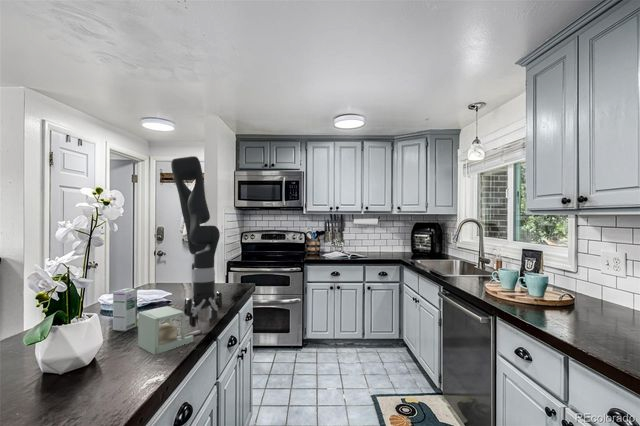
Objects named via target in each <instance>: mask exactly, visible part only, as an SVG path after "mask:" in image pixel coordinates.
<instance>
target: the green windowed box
mask: <svg viewBox="0 0 640 426" xmlns="http://www.w3.org/2000/svg"><path fill="white" fill-rule="evenodd" d="M177 317H180V336H181V339H178V340H175V341H171V342H168V343H165V344H162V345H159V325H160V322H163V321H165V323H170V324H171V319H173V318H177ZM137 326H138V327H137V328H138V329H137V330H138V331H137V335H138V337H137V347H139V348H141V349H143V350H145V351H146V352H149V353H151V354H152V355H154V356H155V355H159V354H161V353H165V352H167V351H171V350H173V349H177V348H178V347H179V346H180V347H183V346H185V345H189V344H191V343H193V342H194V336H195V335H190V336H187V337H185V334H186V315H185V314H184V310H180V309H177V308H174V307H171V306H169V305H166V306H162V307H157V308H153V309H147V310H143V311H139V312H138V319H137ZM177 336H179V329H178V328H177ZM190 342H191V343H190ZM184 344H185V345H184ZM158 345H159V346H158ZM182 345H183V346H182ZM176 347H177V348H176Z"/></svg>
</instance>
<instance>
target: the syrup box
mask: <svg viewBox="0 0 640 426" xmlns="http://www.w3.org/2000/svg"><path fill="white" fill-rule="evenodd" d="M137 326H138V289H137V288H123V289H120V290H115V291H113V292H112V330H113V331H120V332H127V331H128V330H131V329H134V328H136V327H137Z"/></svg>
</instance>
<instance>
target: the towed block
mask: <svg viewBox="0 0 640 426" xmlns="http://www.w3.org/2000/svg"><path fill="white" fill-rule="evenodd" d="M209 308H210V307H204V308H200V310H199V311H198V321H197V324H198V325H197V330H194V331H191V332H187V333H185V337H187V336H190V335H192V336H195V335H198V334H201V335H203V334H207V333H209V332H210V319H209ZM177 329H178V326H177V325H176V324H175V325H174V324H173V323H171V322H170V323H166V322H164V323H161V324H159V345H162V344H165V343H168V342H171V341H175V340H178V339H181V335H177ZM159 345H158V346H159Z"/></svg>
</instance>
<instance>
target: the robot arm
mask: <svg viewBox="0 0 640 426" xmlns="http://www.w3.org/2000/svg"><path fill="white" fill-rule="evenodd" d="M170 163H171V164H170V167H171V173H172V176H173V179H174V182H175V183H174V184H175V185H176V189H177V192H178V193H177V194H178V198H179V202H180V209H181V214H182V218H183V221H184V226H185V231H186V239H187V246H188V251H189V253H190V254H191V255H194V257H193V258H194V260H193V261H194V262H193V263H192V264H191V298H189V297H186V298H184V307H183V312H184V314H185V317H186V316H187V317H189V319H188V320H189V326H190V327H191V328H195V327H197V324H196V323H197V322H196V321H197V320H196V316H195V315H196V313H197V312H198V311H199V310H200V308H204V307H209V306H210V308H211V309H212V310H211V318H210V320H211V321H212V322H215V321H217V319H218V311H219V309H222V307H223V295H222V294H223V293H222V292H221V291H215V289H216V288H215V287H216V285H215V284H216V272H215V255H216V251H217V247H218V244H219V241H220V238H221V237H220V236H221V232H220V230H219V228H218V227H217V226H216V225H204V224H205V223H207V222H209V221H210V219H211V215H210V211H209V206H208V204H207V199H206V191H205V190H206V189H205V183H204V175H203V170H202V169H203V168H202V164H201V161H200V160H199V157H198V156H195V155H194V156H192V155H191V156H184V157H183V156H182V157H177V158H173V159H172V160H171V161H170ZM190 180H195V181H194V182H195V183H194V185H193V189H192V190H191V189H190V188H189V187H188V186H187V184H186V183H185V181H190ZM202 224H203V225H202ZM213 300H214V301H213ZM193 302H194V304H193ZM191 304H193V306H192V308H191ZM196 306H197V307H196Z"/></svg>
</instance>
